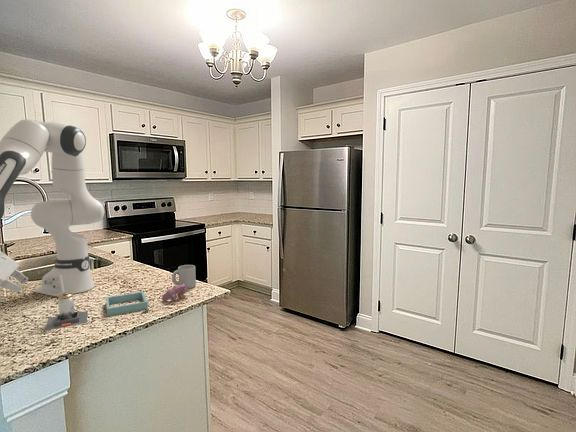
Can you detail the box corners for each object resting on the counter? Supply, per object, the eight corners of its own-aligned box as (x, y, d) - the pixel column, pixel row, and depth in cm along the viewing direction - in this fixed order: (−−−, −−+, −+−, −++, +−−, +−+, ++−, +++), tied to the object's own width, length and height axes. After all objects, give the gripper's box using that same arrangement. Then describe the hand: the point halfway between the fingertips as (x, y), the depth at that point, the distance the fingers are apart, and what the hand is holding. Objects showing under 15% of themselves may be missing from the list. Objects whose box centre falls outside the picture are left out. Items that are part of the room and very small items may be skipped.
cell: (56, 322, 102) (54, 295, 101) (67, 317, 106) (65, 290, 105) (67, 323, 101) (65, 295, 100) (77, 318, 105) (75, 291, 104)
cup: (196, 287, 139) (195, 268, 139) (172, 290, 136) (171, 270, 135) (195, 283, 146) (194, 264, 145) (172, 285, 142) (171, 266, 142)
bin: (107, 320, 106) (106, 309, 106) (106, 307, 117) (106, 297, 117) (148, 312, 113) (147, 301, 112) (143, 301, 124) (143, 291, 123)
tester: (44, 335, 96) (43, 327, 96) (49, 321, 105) (48, 314, 105) (87, 327, 102) (86, 319, 101) (88, 314, 111) (87, 307, 111)
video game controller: (167, 306, 122) (171, 292, 120) (160, 299, 124) (164, 285, 122) (187, 298, 131) (192, 285, 128) (180, 292, 132) (185, 279, 130)
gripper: (-26, 257, 83) (25, 286, 89) (-4, 244, 100) (37, 269, 106) (-48, 276, 81) (6, 305, 87) (-22, 259, 98) (21, 285, 104)
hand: (23, 285), depth 97 cm, fingers open, 8 cm apart
